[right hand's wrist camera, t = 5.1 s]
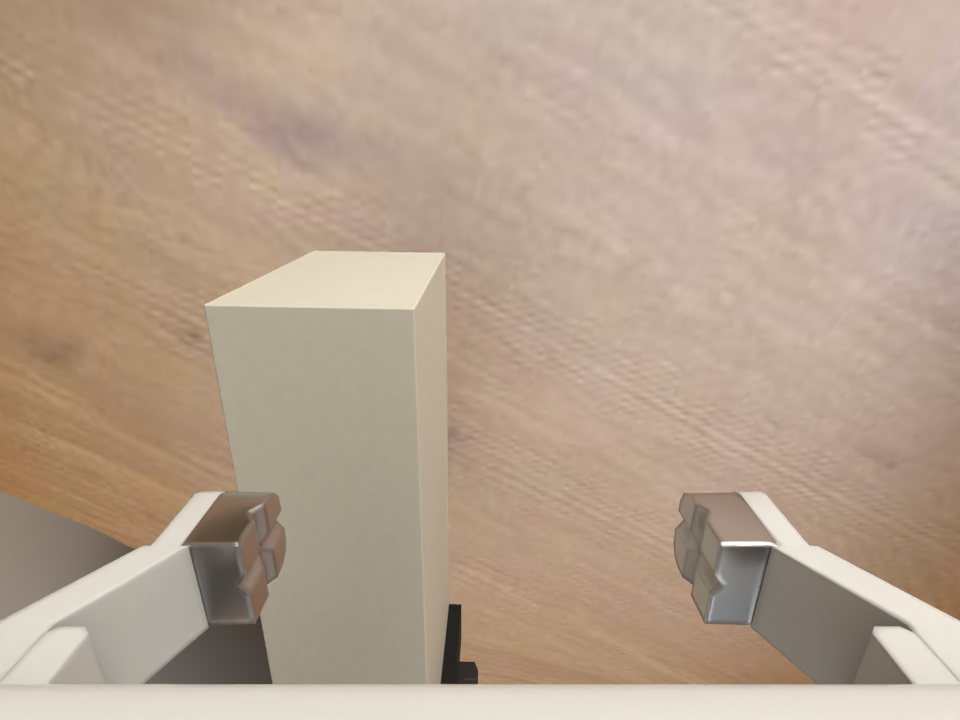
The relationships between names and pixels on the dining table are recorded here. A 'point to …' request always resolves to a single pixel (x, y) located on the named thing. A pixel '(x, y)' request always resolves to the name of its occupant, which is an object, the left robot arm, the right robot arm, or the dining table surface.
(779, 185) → the dining table surface
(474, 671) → the left robot arm
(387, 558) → the box
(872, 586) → the right robot arm
